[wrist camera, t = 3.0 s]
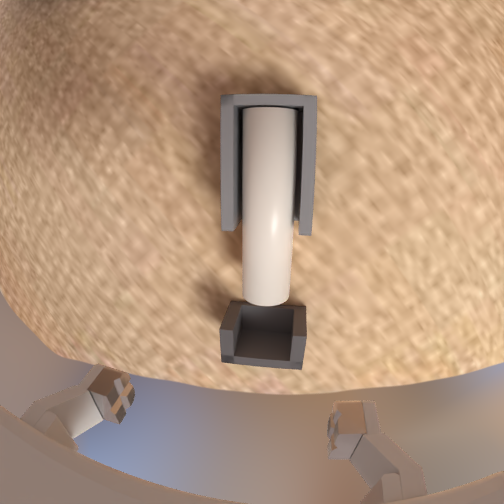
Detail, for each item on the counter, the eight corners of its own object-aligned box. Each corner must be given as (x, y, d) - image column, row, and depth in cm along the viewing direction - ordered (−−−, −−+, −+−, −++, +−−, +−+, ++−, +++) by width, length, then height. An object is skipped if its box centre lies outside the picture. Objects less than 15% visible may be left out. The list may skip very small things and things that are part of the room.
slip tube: (247, 112, 22) (238, 107, 18) (297, 113, 21) (297, 107, 18) (246, 281, 27) (238, 303, 24) (289, 284, 27) (288, 307, 23)
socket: (231, 300, 30) (219, 329, 25) (306, 306, 29) (306, 336, 24) (232, 332, 31) (221, 362, 27) (302, 338, 30) (301, 369, 26)
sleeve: (235, 103, 23) (220, 95, 18) (312, 104, 22) (317, 95, 18) (234, 214, 27) (221, 230, 22) (308, 218, 26) (311, 235, 21)
